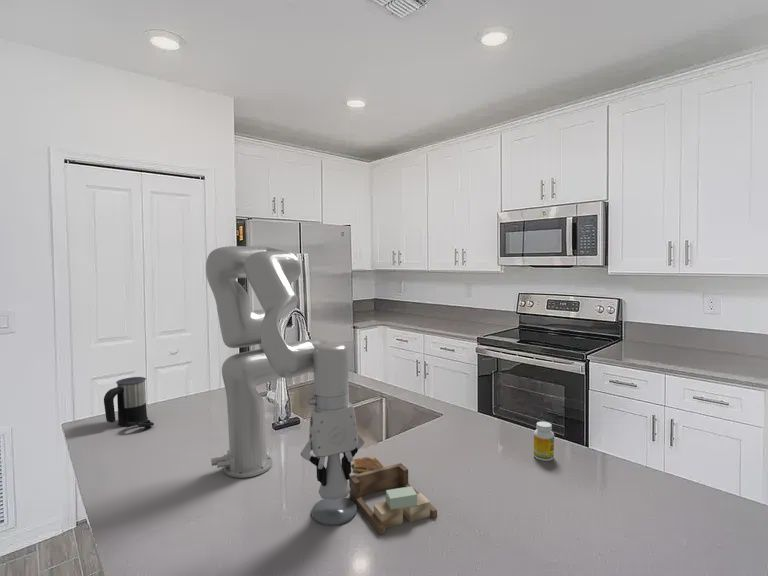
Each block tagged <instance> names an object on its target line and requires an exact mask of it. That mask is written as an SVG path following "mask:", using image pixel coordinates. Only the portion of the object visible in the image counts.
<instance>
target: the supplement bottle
mask: <svg viewBox="0 0 768 576" xmlns="http://www.w3.org/2000/svg"><path fill="white" fill-rule="evenodd" d="M552 430H553V425H552V423H550V422H548V421H537V422H536V429H535V430H534V432H533V457H535V459H537V460H539V461H543V462H548V461H553V459H554V455H555V434H554V432H553V431H552Z"/></svg>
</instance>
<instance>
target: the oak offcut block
mask: <svg viewBox="0 0 768 576" xmlns="http://www.w3.org/2000/svg"><path fill="white" fill-rule="evenodd" d="M373 512H374V514H375V515H376V516H377V517H378V519H379V520H380V521H381V522H382V523H383V525H384V526H385V529H388V528H392V527H395V526H397V525H401V524H403V523H404V515H403V508H399V509H393V510H390V508H389V506H388V504H387V502H386V500H385V501H382V502H379V503H376V504H373Z"/></svg>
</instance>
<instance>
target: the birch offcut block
mask: <svg viewBox="0 0 768 576" xmlns="http://www.w3.org/2000/svg"><path fill="white" fill-rule="evenodd" d="M418 493H419V494H417V506H411V507H405V508H403V517H405V519H406V520H408V521H409V523H414V522H416V521H420V520H422V519H425V518H428V517H431V516H430V504H431V501H430V500H429V499H428V498H427V497H426V496H425V495H424V494H423V493H421V492H418Z"/></svg>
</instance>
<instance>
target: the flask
mask: <svg viewBox="0 0 768 576" xmlns="http://www.w3.org/2000/svg"><path fill="white" fill-rule="evenodd" d="M340 455H341V453H340V454H335V455H331V456H327V459H326V460H327V461H326V466H325V468H326V486H323V485H322V484H321V483H320V486H319V489H318V494H319V496H320V498H321V499H322V500H323V499H331V500H336V499H340V498H344V497H345V498H348V496H349V495H350V493H349V492H350V491H351V489H350V486H349V480H346V476H345V474H344V471H343V468H342V464H341V457H340Z"/></svg>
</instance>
